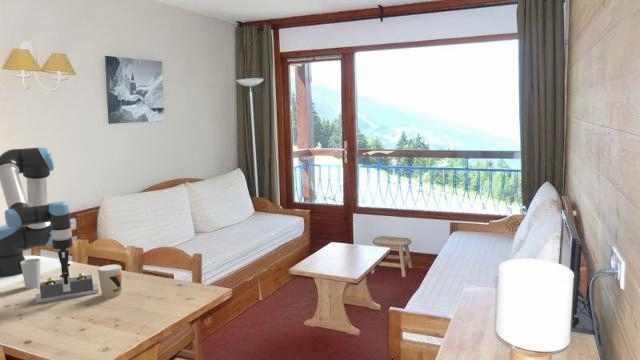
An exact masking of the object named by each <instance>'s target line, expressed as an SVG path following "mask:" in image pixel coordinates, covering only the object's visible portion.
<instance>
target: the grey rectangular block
mask: <svg viewBox="0 0 640 360" xmlns="http://www.w3.org/2000/svg"><path fill="white" fill-rule="evenodd" d="M69 280H70V290H71V291H66V292H63V283H62V278H61V279H55V280H53V284H50V285H49V283H48V281H41V283H40V287H39V290H40V293H41V298H46V297H52V296H58V295H64V294H70V293H76V292H82V291H88V290H93V285H94V282H93V276H92V274H87V275H84V279H81V280H80V278H79V276H75V277H70V278H69ZM40 293H39V294H40Z"/></svg>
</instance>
